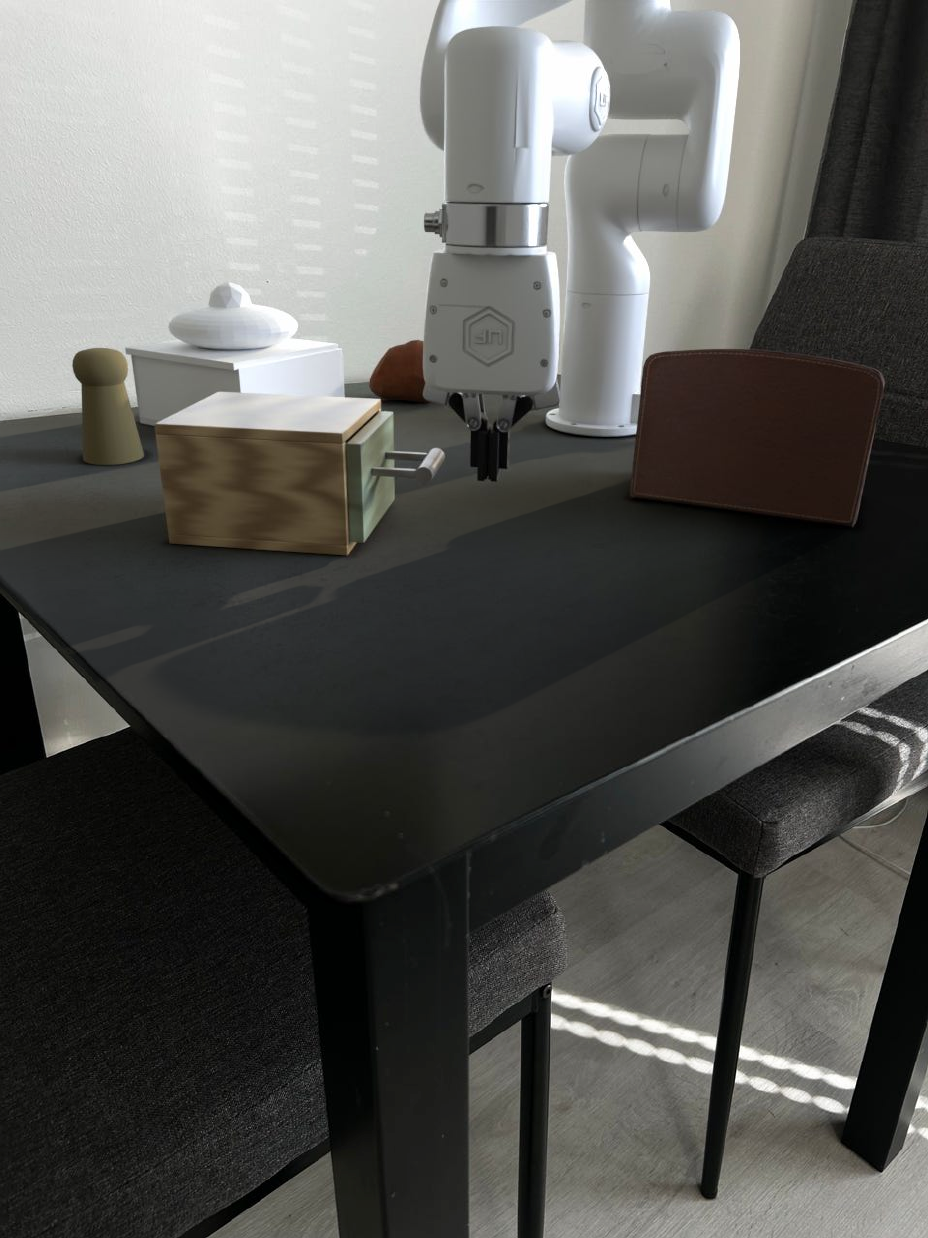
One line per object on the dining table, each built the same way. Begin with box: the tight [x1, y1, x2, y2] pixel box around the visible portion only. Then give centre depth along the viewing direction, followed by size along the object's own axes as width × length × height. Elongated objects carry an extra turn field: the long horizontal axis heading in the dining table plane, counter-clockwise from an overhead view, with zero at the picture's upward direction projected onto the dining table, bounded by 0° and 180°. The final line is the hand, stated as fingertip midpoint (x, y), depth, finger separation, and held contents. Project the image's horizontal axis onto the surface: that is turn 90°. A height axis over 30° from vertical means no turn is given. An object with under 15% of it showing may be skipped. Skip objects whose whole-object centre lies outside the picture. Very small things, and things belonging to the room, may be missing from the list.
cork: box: [71, 347, 145, 466], centre depth 93 cm, size 6×6×11 cm
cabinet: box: [153, 392, 382, 556], centre depth 75 cm, size 15×13×10 cm
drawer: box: [345, 410, 446, 544], centre depth 75 cm, size 18×11×8 cm, turn 82°
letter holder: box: [629, 348, 885, 528], centre depth 83 cm, size 10×20×14 cm, turn 68°
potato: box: [368, 339, 432, 403], centre depth 122 cm, size 8×12×8 cm, turn 88°
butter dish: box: [124, 281, 346, 427], centre depth 109 cm, size 18×18×16 cm
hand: (489, 476), depth 74 cm, fingers closed
